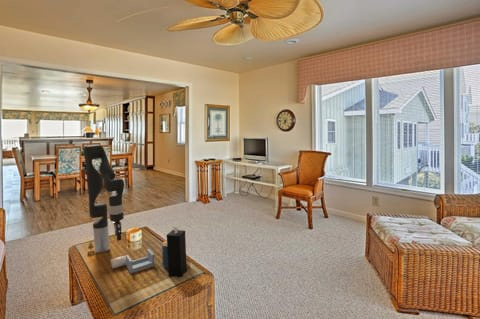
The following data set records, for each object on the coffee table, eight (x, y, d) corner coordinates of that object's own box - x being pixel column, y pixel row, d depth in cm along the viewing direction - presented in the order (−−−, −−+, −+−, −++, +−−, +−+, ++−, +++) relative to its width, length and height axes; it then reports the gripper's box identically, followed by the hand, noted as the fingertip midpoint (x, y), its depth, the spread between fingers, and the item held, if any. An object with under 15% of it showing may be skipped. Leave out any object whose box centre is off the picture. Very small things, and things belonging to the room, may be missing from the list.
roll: (112, 269, 156) (111, 260, 156) (111, 267, 160) (110, 258, 161) (129, 264, 161) (128, 255, 162) (127, 263, 166) (126, 254, 166)
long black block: (181, 277, 147) (179, 230, 144) (168, 276, 148) (166, 229, 145) (186, 270, 155) (185, 225, 151) (174, 269, 156) (172, 224, 153)
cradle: (126, 266, 160) (125, 255, 159) (149, 259, 168) (148, 248, 168) (130, 273, 152) (129, 261, 151) (154, 266, 160) (153, 254, 160)
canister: (170, 257, 170) (169, 231, 169) (187, 260, 166) (186, 234, 164) (158, 267, 158) (156, 239, 156) (176, 271, 154) (175, 242, 152)
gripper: (108, 209, 160) (110, 235, 162) (110, 216, 148) (112, 243, 150) (121, 207, 164) (123, 232, 166) (125, 213, 152) (126, 240, 154)
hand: (118, 237), depth 158 cm, fingers open, 8 cm apart
